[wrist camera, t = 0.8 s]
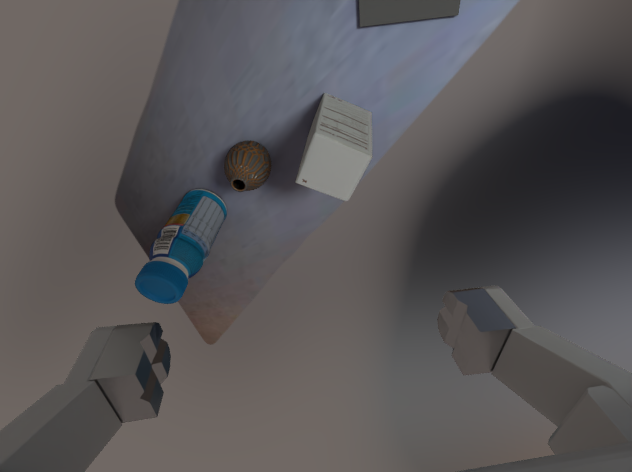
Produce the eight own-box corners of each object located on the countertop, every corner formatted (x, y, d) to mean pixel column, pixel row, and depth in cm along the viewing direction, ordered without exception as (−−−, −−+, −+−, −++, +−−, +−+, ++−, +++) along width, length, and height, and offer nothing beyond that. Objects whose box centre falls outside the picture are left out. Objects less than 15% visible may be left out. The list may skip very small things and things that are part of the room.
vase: (234, 168, 56) (216, 200, 50) (231, 130, 51) (212, 159, 45) (274, 175, 56) (262, 208, 50) (276, 138, 51) (262, 168, 45)
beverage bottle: (234, 199, 60) (191, 286, 46) (222, 228, 66) (181, 314, 52) (188, 179, 58) (129, 263, 44) (180, 211, 64) (125, 295, 50)
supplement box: (351, 154, 51) (347, 204, 42) (306, 136, 50) (292, 183, 41) (373, 111, 46) (374, 157, 37) (324, 89, 45) (313, 132, 36)
